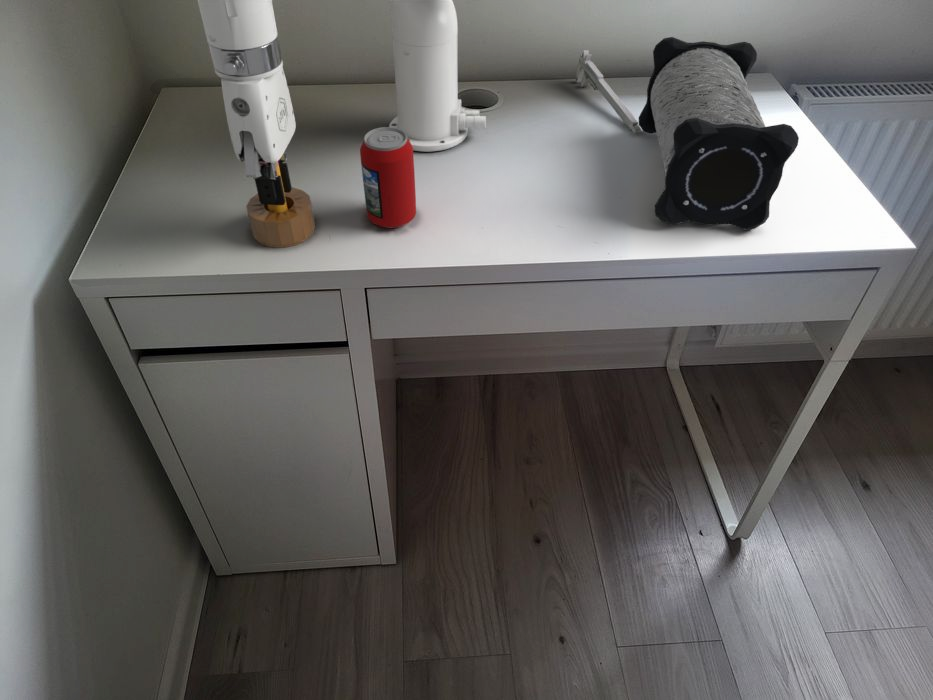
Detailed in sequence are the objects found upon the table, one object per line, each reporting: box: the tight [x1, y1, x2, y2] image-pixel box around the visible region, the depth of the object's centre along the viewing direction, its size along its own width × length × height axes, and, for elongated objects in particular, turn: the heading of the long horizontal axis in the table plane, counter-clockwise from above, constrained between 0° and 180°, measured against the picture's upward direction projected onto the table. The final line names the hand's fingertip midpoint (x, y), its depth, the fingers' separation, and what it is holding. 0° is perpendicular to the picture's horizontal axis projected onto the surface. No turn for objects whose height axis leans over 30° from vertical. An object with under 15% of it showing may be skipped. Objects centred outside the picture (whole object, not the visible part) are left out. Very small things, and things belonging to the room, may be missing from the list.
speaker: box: [638, 36, 800, 231], centre depth 99 cm, size 15×28×15 cm, turn 175°
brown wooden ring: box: [246, 186, 316, 249], centre depth 94 cm, size 8×8×4 cm
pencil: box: [259, 161, 288, 213], centre depth 91 cm, size 2×2×9 cm
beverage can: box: [359, 126, 417, 229], centre depth 93 cm, size 7×7×12 cm
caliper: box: [575, 49, 642, 134], centre depth 119 cm, size 20×1×6 cm, turn 22°
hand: (276, 196), depth 91 cm, fingers closed on pencil, 2 cm apart
